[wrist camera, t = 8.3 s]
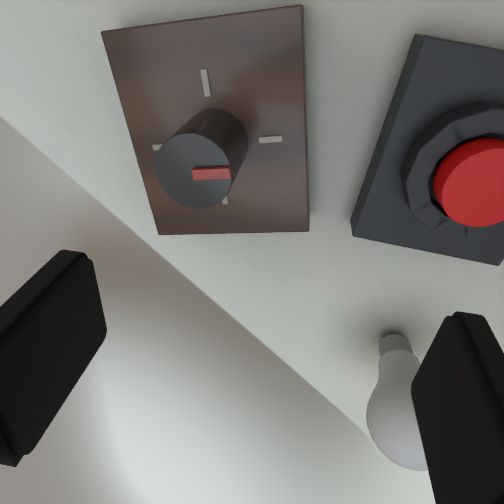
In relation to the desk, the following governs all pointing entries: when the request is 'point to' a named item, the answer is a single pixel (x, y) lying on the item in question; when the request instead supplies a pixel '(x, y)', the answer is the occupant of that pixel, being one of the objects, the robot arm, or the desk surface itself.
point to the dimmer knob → (202, 159)
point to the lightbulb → (396, 405)
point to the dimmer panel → (226, 99)
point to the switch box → (432, 149)
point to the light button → (472, 183)
